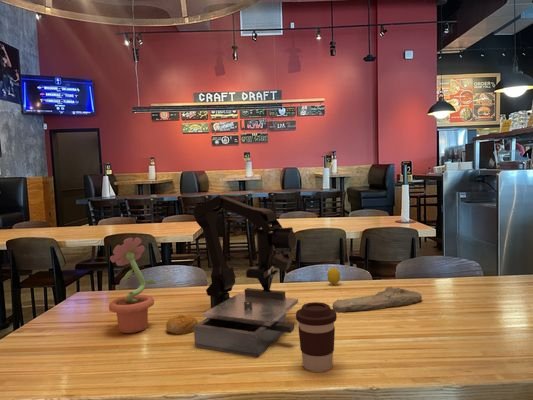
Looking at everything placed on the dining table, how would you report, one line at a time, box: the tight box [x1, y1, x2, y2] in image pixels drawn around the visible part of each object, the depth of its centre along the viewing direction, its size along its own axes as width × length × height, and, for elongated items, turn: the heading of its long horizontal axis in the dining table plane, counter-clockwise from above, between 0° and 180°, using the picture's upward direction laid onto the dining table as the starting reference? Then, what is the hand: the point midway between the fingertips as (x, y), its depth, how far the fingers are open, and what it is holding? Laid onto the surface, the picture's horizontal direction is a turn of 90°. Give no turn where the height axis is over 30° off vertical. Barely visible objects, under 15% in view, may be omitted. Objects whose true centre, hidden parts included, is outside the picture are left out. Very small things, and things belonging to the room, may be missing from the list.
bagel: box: [165, 314, 199, 335], centre depth 126 cm, size 10×11×5 cm
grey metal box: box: [193, 312, 295, 358], centre depth 115 cm, size 26×20×6 cm
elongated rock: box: [332, 286, 423, 314], centre depth 141 cm, size 35×5×10 cm
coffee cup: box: [295, 301, 338, 373], centre depth 97 cm, size 10×10×15 cm
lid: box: [202, 287, 299, 326], centre depth 122 cm, size 22×22×4 cm
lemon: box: [326, 266, 341, 286], centre depth 170 cm, size 6×6×8 cm
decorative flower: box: [108, 237, 157, 334], centre depth 126 cm, size 15×14×30 cm
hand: (267, 293), depth 132 cm, fingers closed
